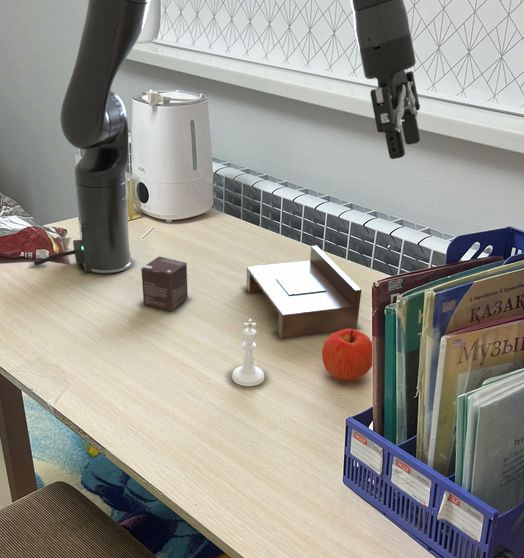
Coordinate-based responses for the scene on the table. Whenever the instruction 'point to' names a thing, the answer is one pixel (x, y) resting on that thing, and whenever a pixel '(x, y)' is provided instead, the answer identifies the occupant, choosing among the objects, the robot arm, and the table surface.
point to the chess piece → (248, 361)
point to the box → (164, 283)
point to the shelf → (308, 295)
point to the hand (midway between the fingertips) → (405, 150)
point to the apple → (347, 354)
